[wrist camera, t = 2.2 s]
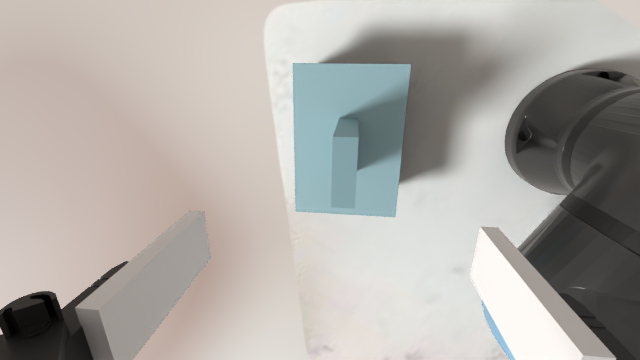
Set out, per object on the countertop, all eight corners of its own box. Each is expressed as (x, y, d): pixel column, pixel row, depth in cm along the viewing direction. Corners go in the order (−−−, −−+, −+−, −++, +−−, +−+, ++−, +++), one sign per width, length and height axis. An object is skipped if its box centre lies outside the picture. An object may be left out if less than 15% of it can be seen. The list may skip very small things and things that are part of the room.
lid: (294, 63, 32) (265, 59, 22) (409, 64, 31) (436, 60, 21) (297, 207, 38) (275, 258, 28) (394, 213, 37) (409, 268, 27)
